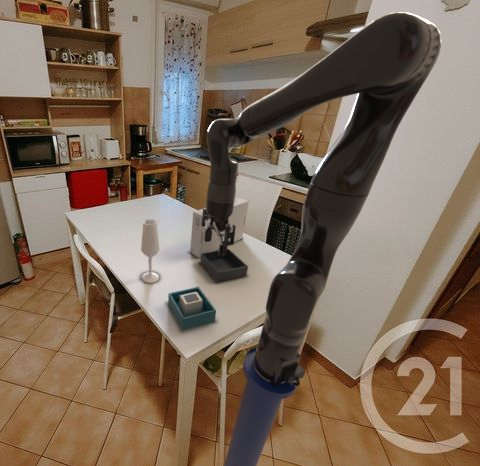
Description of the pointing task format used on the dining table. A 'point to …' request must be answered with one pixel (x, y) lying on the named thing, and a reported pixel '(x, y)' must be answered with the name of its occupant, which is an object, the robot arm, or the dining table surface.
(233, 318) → the dining table surface
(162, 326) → the dining table surface
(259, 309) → the dining table surface
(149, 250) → the champagne flute
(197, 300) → the white box with panel
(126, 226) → the dining table surface
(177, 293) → the near tote
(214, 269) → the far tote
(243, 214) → the packaging
